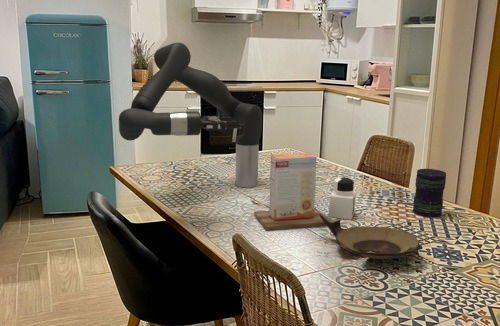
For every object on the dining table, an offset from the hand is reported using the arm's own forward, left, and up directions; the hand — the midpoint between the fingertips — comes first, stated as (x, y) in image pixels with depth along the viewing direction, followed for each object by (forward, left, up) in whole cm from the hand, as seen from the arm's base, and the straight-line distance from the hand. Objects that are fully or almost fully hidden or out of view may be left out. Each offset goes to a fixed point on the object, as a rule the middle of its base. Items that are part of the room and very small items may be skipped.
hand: (234, 122), depth 161 cm
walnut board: (+8, +18, -32) cm, 38 cm away
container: (+6, +37, -32) cm, 49 cm away
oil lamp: (+35, +32, -32) cm, 57 cm away
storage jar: (+10, +68, -32) cm, 76 cm away
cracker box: (+8, +18, -31) cm, 36 cm away
